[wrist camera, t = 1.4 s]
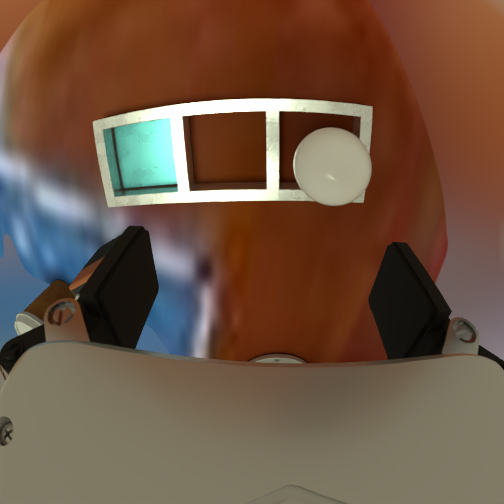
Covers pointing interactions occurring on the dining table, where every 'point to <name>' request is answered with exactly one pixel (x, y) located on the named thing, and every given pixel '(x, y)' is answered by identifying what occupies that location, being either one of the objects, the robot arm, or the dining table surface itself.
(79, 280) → the battery
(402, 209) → the dining table surface
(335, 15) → the dining table surface
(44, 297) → the disposable coffee cup
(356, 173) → the lightbulb
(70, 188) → the dining table surface
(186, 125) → the rail
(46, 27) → the dining table surface
